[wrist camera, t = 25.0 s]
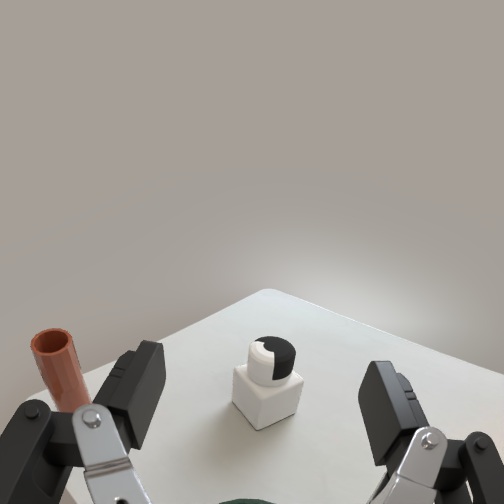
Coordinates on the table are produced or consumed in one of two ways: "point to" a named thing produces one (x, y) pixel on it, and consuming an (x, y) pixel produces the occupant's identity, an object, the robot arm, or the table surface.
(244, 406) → the medicine bottle
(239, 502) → the teal pencil cup
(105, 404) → the robot arm
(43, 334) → the tube
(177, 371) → the table surface
